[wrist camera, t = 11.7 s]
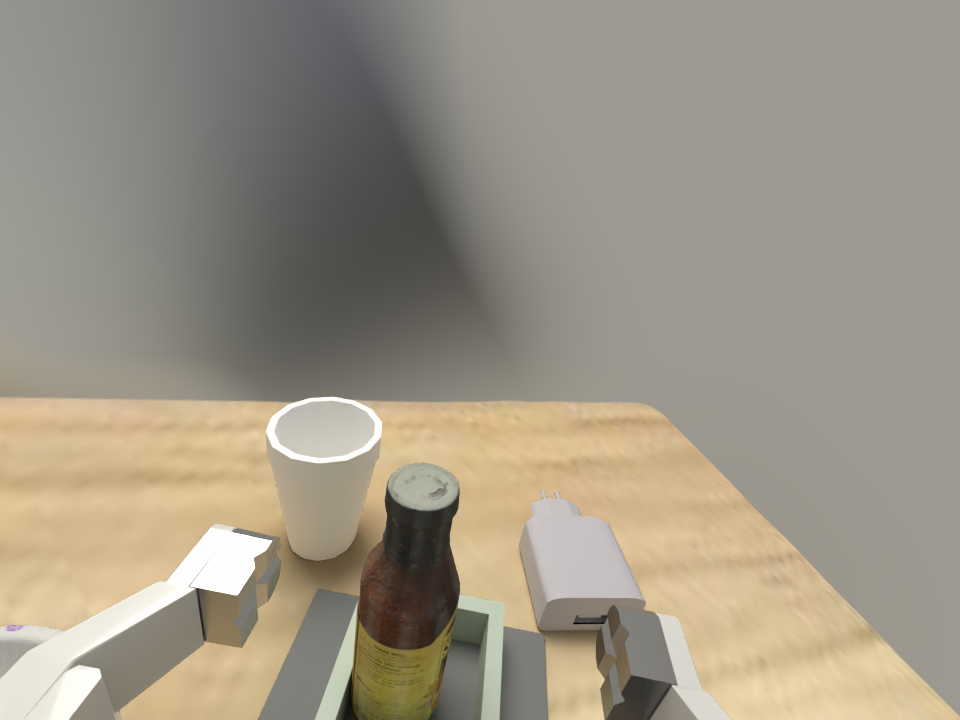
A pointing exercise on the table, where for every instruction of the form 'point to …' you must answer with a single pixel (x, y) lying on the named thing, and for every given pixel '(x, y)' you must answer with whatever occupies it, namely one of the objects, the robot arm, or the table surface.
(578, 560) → the charger
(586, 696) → the table surface
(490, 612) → the bottle holder
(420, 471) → the sauce bottle
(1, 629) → the paper bowls
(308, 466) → the foam cup
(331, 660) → the mat
